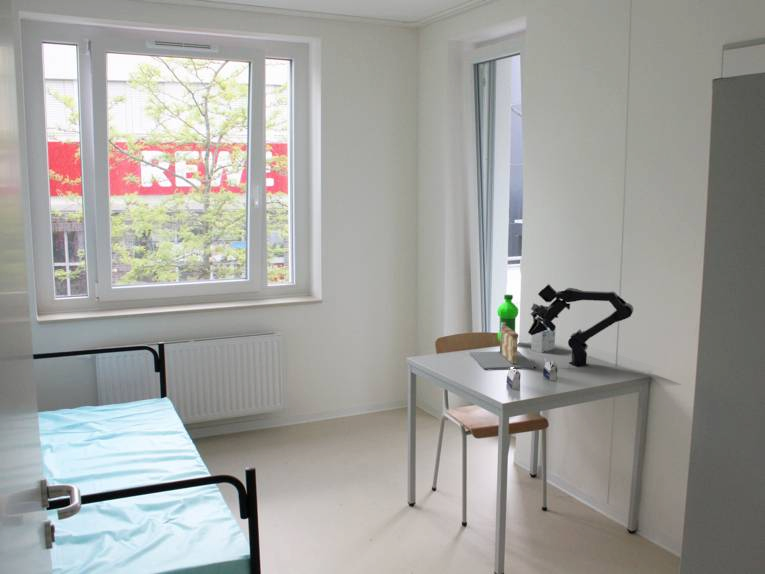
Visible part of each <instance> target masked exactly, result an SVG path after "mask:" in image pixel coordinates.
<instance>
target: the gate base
mask: <svg viewBox="0 0 765 574" xmlns="http://www.w3.org/2000/svg"><path fill="white" fill-rule="evenodd" d="M502 326H506V323H504V322H502V323H501V333H500V341H499V351H473V352H471V351H470V352H469V355H470V356H471V358H472V357H473V358H474V359H475V360H476V361H477V362H478V363H477V362H476V361H475V360H474V359H473V358H472V359H473V360H474V361H475V362H476V363H477V364H478V365H479V366H480V367H481V368H482V369H483V370H484V369H498V370H509V369H508V368H510V367H514V368H528V369H533V368H532V367H536V368H537V365H536V364H535V363H534V362H532V361H530V359H529V358H527V357H526V356H525V355H524V354H522V353H521V352H520V351H519V350H517V363H515V364H512V363H511V362H510V361H509V360H508V359H507V358H506V357H505V356H503V355H502V354H501V352H502Z"/></svg>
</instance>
